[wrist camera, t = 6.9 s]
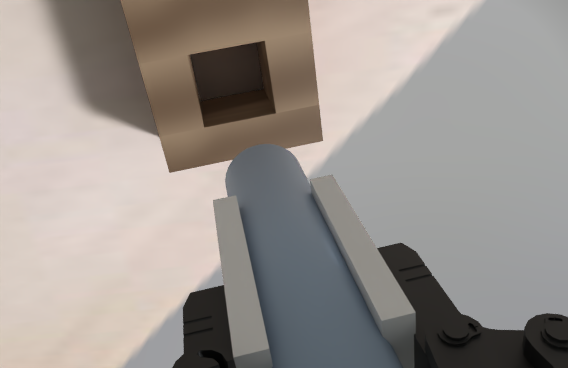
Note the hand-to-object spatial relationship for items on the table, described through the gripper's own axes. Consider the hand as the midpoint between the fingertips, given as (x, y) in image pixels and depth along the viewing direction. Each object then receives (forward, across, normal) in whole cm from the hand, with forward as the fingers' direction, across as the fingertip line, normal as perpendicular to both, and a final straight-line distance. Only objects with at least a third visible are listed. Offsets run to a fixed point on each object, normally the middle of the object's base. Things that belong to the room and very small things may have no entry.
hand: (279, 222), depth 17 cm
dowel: (+3, 0, 0) cm, 3 cm away
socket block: (+20, 0, +2) cm, 20 cm away
